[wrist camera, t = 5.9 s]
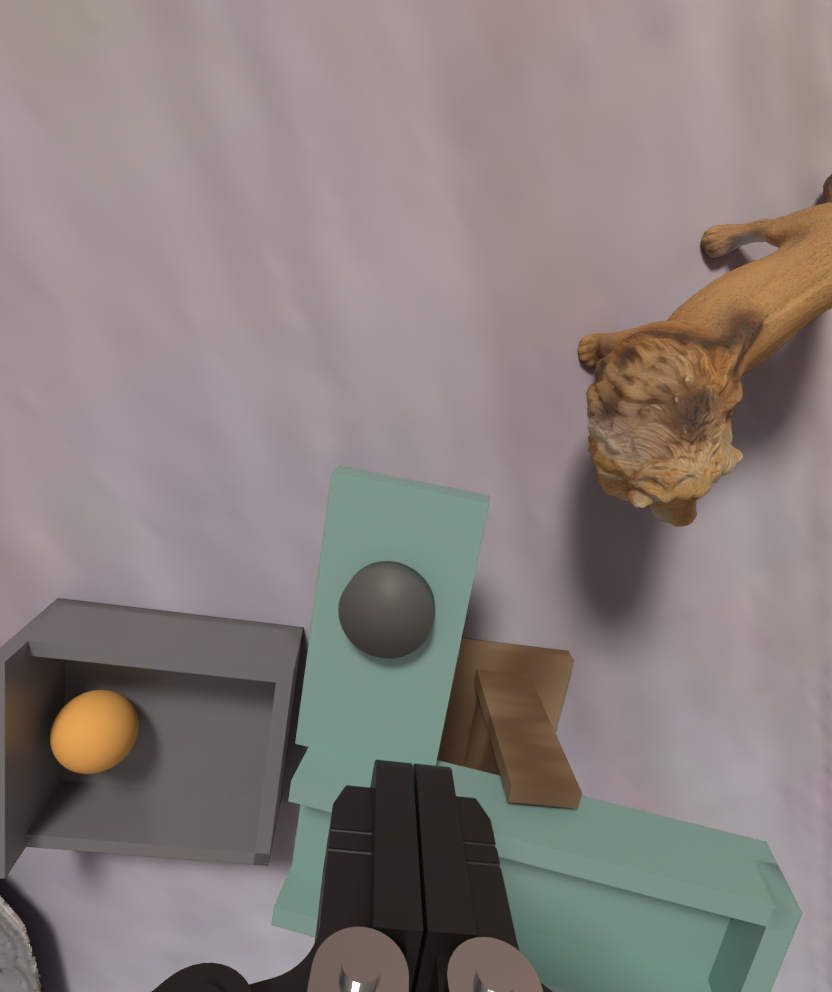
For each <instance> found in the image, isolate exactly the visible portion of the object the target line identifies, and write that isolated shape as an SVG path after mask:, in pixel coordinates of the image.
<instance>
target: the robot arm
mask: <svg viewBox="0 0 832 992" xmlns="http://www.w3.org/2000/svg"><path fill="white" fill-rule="evenodd" d="M495 845H496V842H495V838H494V833H493V828H492V824H491V819H490V818H489V817H488V815H487V814H486V812H485V811H484V809H483V808H482V806H481V805H480V804H479V802H478V801H477V799H476V798H470V797H460V796H456V793H455V786H454V780H453V773H452V769H451V767H444V766H435V765H425V764H416V763H414V765H412V763H405V762H395V761H386V760H375V763H374V767H373V773H372V779H371V785H370V787H360V786H350V785H346V786H345V787H344V789H343V790H342V792H341V793H340V795H339V796H338V797H337V799H336V800H335V802H334V803H333V807H332V813H331V820H330V827H329V833H328V840H327V846H326V853H325V859H324V866H323V874H322V883H321V891H320V900H319V909H318V918H317V926H316V935H315V944H314V946H313V948H312V949H311V951H310V952H309V954H308V955H307V956H306V958H305V959H304V960H303V961H302V962H301V963H300V964H298V965H297V966H296V967H294V968H293V969H292V970H290V971H288V972H286V973H284V974H283V975H280V976H277V977H275V978H272V979H268V980H264V981H261V982H257V983H253V984H250V985H249V984H248V982H247V981H246V980H245V979H244V977H243V976H242V975H241V974H239V973H238V972H237V971H236V970H234V969H232V968H230V967H228V966H225V965H222V964H216V963H201V964H196V965H192V966H189V967H187V968H184V969H182V970H180V971H178V972H176V973H175V974H173V975H172V976H171V977H169V978H168V979H166V980H165V981H164V982H163V983H162V984H160V985H159V986H158V987H157V988H156V989H154V990H153V991H152V992H553V991H551V990H550V989H548V988H547V987H546V986H545V985H544V984H542V983H541V982H540V980H539V978H538V975H537V973H536V971H535V969H534V968H533V966H532V965H531V963H530V962H529V961H528V959H527V958H526V957H525V956H524V955H523V954H522V953H521V952H520V950H519V947H518V944H517V939H516V935H515V930H514V925H513V921H512V916H511V911H510V907H509V902H508V898H507V893H506V888H505V884H504V879H503V875H502V870H501V868H500V861H499V856H498V851H497V848H496V847H495Z"/></svg>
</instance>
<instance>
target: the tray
mask: <svg viewBox="0 0 832 992" xmlns="http://www.w3.org/2000/svg"><path fill="white" fill-rule="evenodd" d="M302 635H303V627H295V626H287V625H279V624H270V623H262V622H253V621H245V620H237V619H228V618H220V617H211V616H203V615H195V614H186V613H178V612H169V611H161V610H153V609H144V608H136V607H128V606H119V605H111V604H102V603H94V602H86V601H77V600H69V599H60V598H58V599H56V600H55V601H54V602H53V603H52V604H51V605H49V606H48V607H47V608H46V609H45V610H44V611H42V612H41V613H40V614H39V615H38V616H37V617H36V618H34V619H33V620H32V621H31V622H30V623H29V624H27V625H26V626H25V627H24V628H23V629H22V630H21V631H19V632H18V633H17V634H16V635H15V636H14V637H12V638H11V639H10V640H9V641H8V642H7V643H5V644H4V645H3V646H2V647H1V648H0V878H3V879H5V878H6V876H7V875H8V873H9V872H10V870H11V869H12V867H13V866H14V864H15V863H16V861H17V860H18V858H19V857H20V855H21V854H22V852H23V851H24V849H25V848H26V847H37V848H50V849H62V850H75V851H88V852H101V853H113V854H126V855H139V856H152V857H164V858H177V859H190V860H203V861H216V862H228V863H241V864H254V865H267V866H268V863H269V858H270V853H271V848H272V843H273V838H274V833H275V828H276V822H277V817H278V812H279V807H280V801H281V794H282V786H283V778H284V771H285V763H286V756H287V748H288V741H289V733H290V726H291V718H292V711H293V703H294V695H295V688H296V680H297V673H298V665H299V658H300V650H301V643H302ZM94 690H109V691H114V692H116V693H119V694H121V695H123V696H124V697H125V698H127V699H128V700H129V701H130V702H131V703H132V705H133V706H134V708H135V710H136V712H137V716H138V721H139V730H138V735H137V738H136V741H135V743H134V745H133V747H132V749H131V750H130V752H129V753H128V754H127V756H126V757H125V758H124V759H123V760H122V761H120V762H119V763H118V764H116V765H115V766H113V767H112V768H110V769H107V770H105V771H102V772H99V773H94V774H82V773H76V772H73V771H71V770H69V769H67V768H65V767H64V766H63V765H61V764H60V763H59V761H58V760H57V759H56V757H55V756H54V754H53V751H52V748H51V744H50V734H51V728H52V725H53V722H54V720H55V718H56V716H57V715H58V713H59V712H60V710H61V709H62V708H63V707H64V706H65V705H66V704H67V703H68V702H69V701H71V700H72V699H74V698H75V697H77V696H79V695H81V694H83V693H86V692H89V691H94Z"/></svg>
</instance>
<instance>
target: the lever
mask: <svg viewBox="0 0 832 992" xmlns="http://www.w3.org/2000/svg"><path fill="white" fill-rule="evenodd" d="M489 500H490V496H488V495H483V494H478V493H473V492H468V491H463V490H458V489H453V488H448V487H443V486H438V485H433V484H428V483H423V482H418V481H413V480H408V479H403V478H398V477H393V476H388V475H383V474H378V473H373V472H368V471H363V470H358V469H353V468H348V467H343V466H340V467H339V468H337V469H336V470H334V471H333V472H332V476H331V483H330V491H329V498H328V505H327V513H326V520H325V527H324V535H323V542H322V550H321V557H320V564H319V572H318V579H317V586H316V594H315V601H314V608H313V616H312V623H311V631H310V638H309V645H308V653H307V660H306V667H305V675H304V682H303V689H302V697H301V704H300V712H299V719H298V726H297V734H296V741H295V744H298V745H302V746H306V747H308V749H307V751H306V753H305V755H304V757H303V759H302V761H301V763H300V765H299V767H298V768H297V770H296V772H295V774H294V776H293V778H292V780H291V785H290V792H289V800H288V801H289V802H293V803H296V804H300V811H299V818H298V825H297V832H296V839H295V846H294V853H293V860H292V866H291V868H290V871H289V873H288V875H287V878H286V880H285V882H284V885H283V887H282V889H281V892H280V894H279V896H278V899H277V901H276V903H275V905H274V910H273V917H272V924H271V925H273V926H277V927H280V928H284V929H287V930H291V931H294V932H298V933H301V934H305V935H308V936H312V937H315V935H316V926H317V918H318V909H319V900H320V891H321V883H322V874H323V866H324V859H325V853H326V846H327V840H328V833H329V827H330V820H331V813H332V807H333V803H334V802H335V800H336V799H337V797H338V796H339V795H340V793H341V792H342V790H343V789H344V787H345V786H346V785H350V786H360V787H370V785H371V779H372V773H373V767H374V763H375V760H386V761H395V762H405V763H412V765H414V763H416V764H425V765H435V766H444V767H451V769H452V773H453V780H454V786H455V793H456V796H460V797H470V798H476V799H477V801H478V802H479V804H480V805H481V806H482V808H483V809H484V811H485V812H486V814H487V815H488V817H489V818H490V819H491V824H492V828H493V833H494V838H495V842H496V845H495V847H496V848H497V851H498V856H499V861H500V868H501V870H502V875H503V879H504V884H505V888H506V893H507V898H508V902H509V907H510V911H511V916H512V921H513V925H514V930H515V935H516V939H517V944H518V947H519V950H520V952H521V953H522V954H523V955H524V956H525V957H526V958H527V959H528V961H529V962H530V963H531V965H532V966H533V968H534V969H535V971H536V973H537V975H538V978H539V980H540V982H541V983H542V984H544V985H545V986H546V987H547V988H548V989H550V990H551V991H553V992H771V989H772V987H773V984H774V982H775V979H776V977H777V975H778V972H779V970H780V967H781V965H782V962H783V960H784V957H785V955H786V952H787V950H788V947H789V945H790V942H791V940H792V938H793V935H794V933H795V930H796V928H797V925H798V923H799V920H800V918H801V915H802V911H801V909H800V907H799V905H798V903H797V901H796V899H795V897H794V895H793V893H792V892H791V890H790V888H789V886H788V884H787V882H786V880H785V878H784V876H783V874H782V872H781V870H780V868H779V866H778V864H777V862H776V860H775V858H774V856H773V854H772V852H771V850H770V848H769V846H768V845H767V843H766V842H765V841H761V840H757V839H753V838H749V837H745V836H741V835H737V834H733V833H729V832H725V831H721V830H717V829H713V828H709V827H705V826H701V825H697V824H693V823H689V822H685V821H681V820H677V819H673V818H668V817H664V816H660V815H656V814H652V813H648V812H644V811H640V810H636V809H632V808H628V807H624V806H620V805H616V804H612V803H608V802H604V801H600V800H596V799H592V798H588V797H584V796H581V800H580V803H579V807H578V808H567V807H556V806H546V805H535V804H524V803H513V802H508V800H507V796H506V793H505V789H504V786H503V782H502V779H501V776H499V775H495V774H491V773H487V772H483V771H479V770H475V769H471V768H467V767H463V766H459V765H455V764H451V763H447V762H442V761H438V760H437V756H438V751H439V746H440V741H441V736H442V732H443V727H444V722H445V717H446V712H447V707H448V702H449V697H450V692H451V687H452V682H453V678H454V673H455V668H456V663H457V658H458V653H459V648H460V643H461V638H462V633H463V628H464V624H465V619H466V614H467V609H468V604H469V599H470V594H471V589H472V584H473V579H474V574H475V570H476V565H477V560H478V555H479V550H480V545H481V540H482V535H483V530H484V525H485V520H486V516H487V511H488V506H489Z"/></svg>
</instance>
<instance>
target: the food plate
mask: <svg viewBox="0 0 832 992" xmlns="http://www.w3.org/2000/svg"><path fill="white" fill-rule="evenodd" d="M30 952H31V953H32V946H31V947H30V940H29V938H28V935H27V931H26V927H25V925H24V924H23V921H22V920H21V919H20V918H19V916H18V915H17V914H16V913H15V912H14V911H13V910H12V908H10V907H9V904H8V903H7V902H5V900H4V899H3V898H1V896H0V992H42V991H43V990H44V988H43V989H42V991H41V990H40V989H41V986H42V985H41V984H40V981H39V977H40V978H41V974H40V975H38V972H39V970H38V968H36V961H35V956H32V954H31V953H30Z"/></svg>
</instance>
